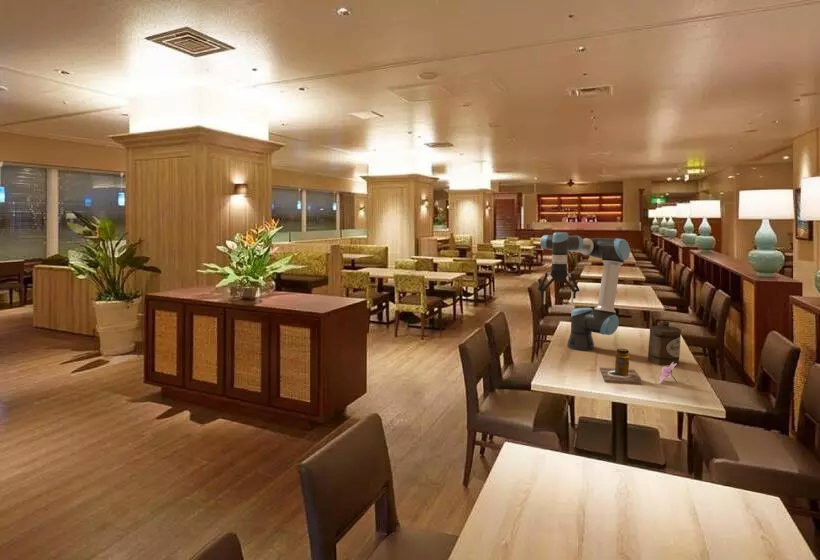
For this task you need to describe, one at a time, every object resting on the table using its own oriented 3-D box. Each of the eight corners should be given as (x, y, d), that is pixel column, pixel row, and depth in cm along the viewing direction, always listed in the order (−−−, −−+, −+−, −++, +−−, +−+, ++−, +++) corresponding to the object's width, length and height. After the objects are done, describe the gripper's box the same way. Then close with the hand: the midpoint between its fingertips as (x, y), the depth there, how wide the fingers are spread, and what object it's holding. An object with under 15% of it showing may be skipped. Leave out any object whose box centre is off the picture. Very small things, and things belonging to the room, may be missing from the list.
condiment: (632, 374, 248) (633, 350, 246) (621, 377, 243) (622, 352, 242) (619, 371, 254) (620, 347, 252) (608, 373, 249) (609, 349, 248)
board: (599, 369, 261) (599, 366, 261) (633, 371, 257) (634, 369, 257) (604, 382, 242) (604, 379, 241) (641, 384, 238) (641, 381, 238)
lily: (664, 378, 250) (655, 361, 249) (689, 374, 241) (679, 356, 240) (658, 392, 241) (648, 375, 240) (683, 388, 233) (674, 370, 232)
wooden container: (674, 367, 264) (677, 325, 261) (644, 362, 273) (646, 321, 270) (682, 361, 275) (684, 320, 272) (652, 356, 284) (654, 317, 282)
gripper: (534, 263, 262) (533, 304, 265) (586, 264, 256) (584, 306, 259) (534, 261, 270) (533, 302, 272) (584, 262, 264) (583, 304, 266)
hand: (558, 304), depth 266 cm, fingers open, 13 cm apart
